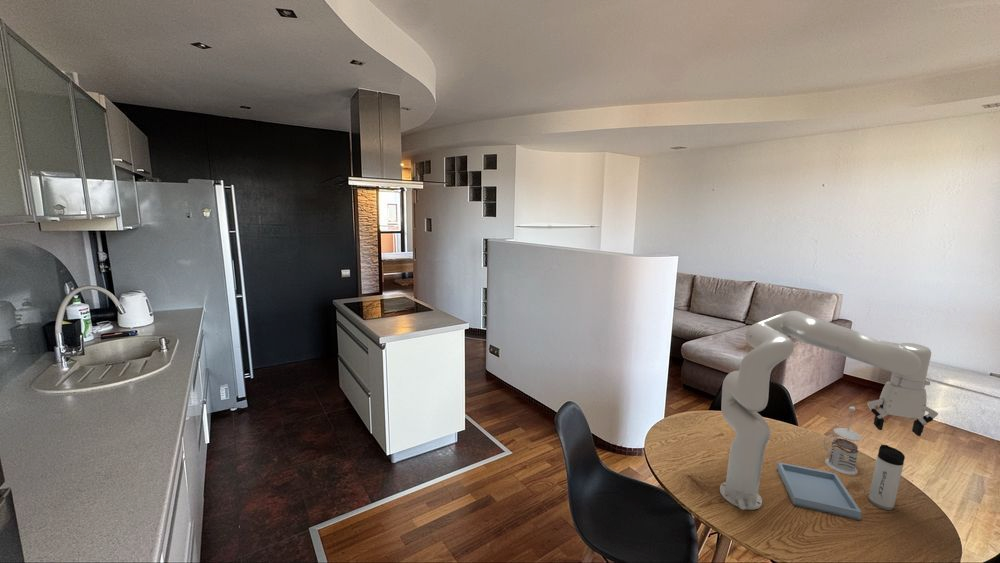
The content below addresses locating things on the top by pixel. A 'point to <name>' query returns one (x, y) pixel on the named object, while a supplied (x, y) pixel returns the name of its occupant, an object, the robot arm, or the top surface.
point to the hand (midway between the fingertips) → (896, 430)
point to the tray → (818, 490)
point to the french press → (838, 461)
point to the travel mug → (886, 477)
